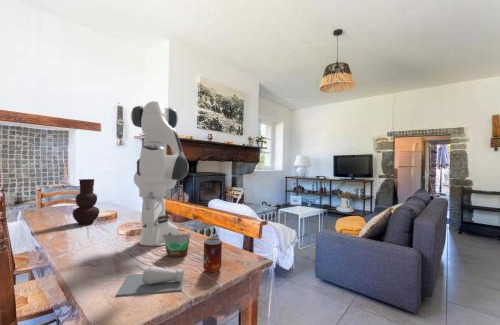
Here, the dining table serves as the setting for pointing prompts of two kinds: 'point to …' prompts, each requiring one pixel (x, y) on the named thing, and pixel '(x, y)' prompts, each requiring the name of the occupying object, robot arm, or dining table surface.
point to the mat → (146, 286)
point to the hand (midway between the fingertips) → (152, 230)
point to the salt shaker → (161, 275)
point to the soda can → (212, 255)
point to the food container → (177, 245)
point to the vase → (86, 203)
